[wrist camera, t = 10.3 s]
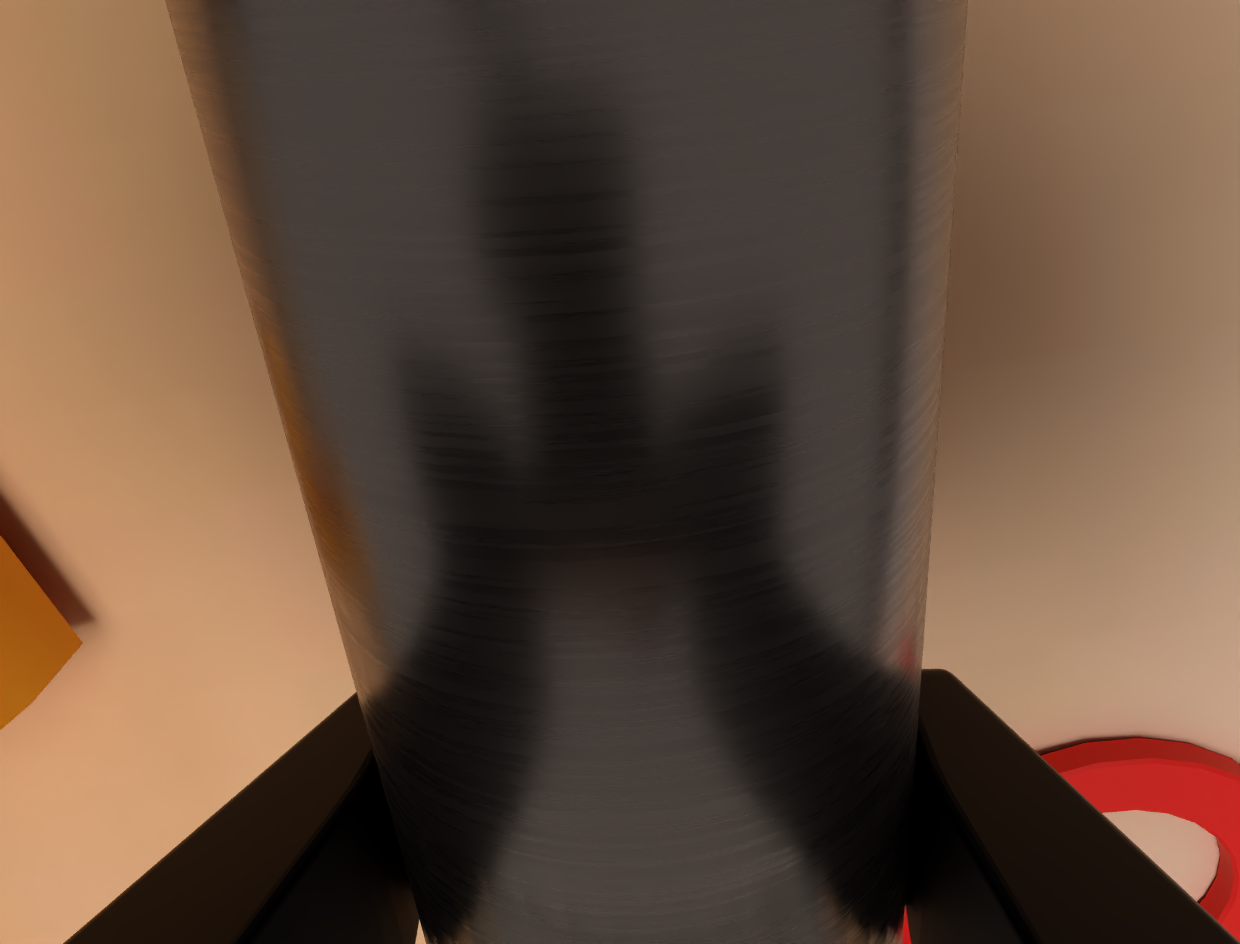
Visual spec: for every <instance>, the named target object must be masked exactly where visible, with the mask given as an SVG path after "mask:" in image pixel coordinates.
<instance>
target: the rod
mask: <svg viewBox="0 0 1240 944" xmlns="http://www.w3.org/2000/svg"><path fill="white" fill-rule="evenodd" d="M165 1H166V4H167V8H168V12H169V15H170V19H171V22H172V26H173V30H174V33H175V37H176V40H177V44H178V48H179V51H180V55H181V59H182V62H183V66H184V69H185V73H186V77H187V80H188V84H189V87H190V91H191V95H192V98H193V102H194V106H195V109H196V113H197V116H198V120H199V124H200V127H201V131H202V134H203V138H204V142H205V145H206V149H207V153H208V156H209V160H210V163H211V167H212V171H213V174H214V178H215V181H216V185H217V189H218V192H219V196H220V200H221V203H222V207H223V210H224V214H225V218H226V221H227V225H228V228H229V232H230V236H231V239H232V243H233V247H234V250H235V254H236V257H237V261H238V265H239V268H240V272H241V275H242V279H243V283H244V286H245V290H246V294H247V297H248V301H249V304H250V308H251V312H252V315H253V319H254V322H255V326H256V330H257V333H258V337H259V341H260V344H261V348H262V351H263V355H264V359H265V362H266V366H267V369H268V373H269V377H270V380H271V384H272V388H273V391H274V395H275V398H276V402H277V406H278V409H279V413H280V416H281V420H282V424H283V427H284V431H285V435H286V438H287V442H288V445H289V449H290V453H291V456H292V460H293V463H294V467H295V471H296V474H297V478H298V482H299V485H300V489H301V492H302V496H303V500H304V503H305V507H306V510H307V514H308V518H309V521H310V525H311V529H312V532H313V536H314V539H315V543H316V547H317V550H318V554H319V557H320V561H321V565H322V568H323V572H324V576H325V579H326V583H327V586H328V590H329V594H330V597H331V601H332V604H333V608H334V612H335V615H336V619H337V623H338V626H339V630H340V633H341V637H342V641H343V644H344V648H345V652H346V655H347V659H348V662H349V666H350V670H351V673H352V677H353V680H354V684H355V688H356V691H357V695H358V699H359V702H360V706H361V709H362V713H363V717H364V720H365V724H366V727H367V731H368V735H369V738H370V742H371V746H372V749H373V753H374V756H375V760H376V764H377V767H378V771H379V774H380V778H381V782H382V785H383V789H384V793H385V796H386V800H387V803H388V807H389V811H390V814H391V818H392V821H393V825H394V829H395V832H396V836H397V840H398V843H399V847H400V850H401V854H402V858H403V861H404V865H405V868H406V872H407V876H408V879H409V883H410V887H411V890H412V894H413V897H414V901H415V905H416V908H417V912H418V915H419V919H420V923H421V926H422V930H423V934H424V937H425V941H426V944H903V929H904V915H905V900H906V886H907V872H908V857H909V843H910V828H911V814H912V799H913V785H914V771H915V756H916V742H917V727H918V713H919V698H920V684H921V669H922V655H923V641H924V626H925V612H926V597H927V583H928V568H929V554H930V539H931V525H932V511H933V496H934V482H935V467H936V453H937V438H938V424H939V409H940V395H941V381H942V366H943V352H944V337H945V323H946V308H947V294H948V280H949V265H950V251H951V236H952V222H953V207H954V193H955V178H956V164H957V150H958V135H959V121H960V106H961V92H962V77H963V63H964V48H965V34H966V20H967V5H968V0H165Z"/></svg>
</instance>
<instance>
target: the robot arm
mask: <svg viewBox="0 0 1240 944" xmlns="http://www.w3.org/2000/svg"><path fill="white" fill-rule="evenodd" d="M905 906H906V912H907V919H908V926H909V933H910V939H911V944H1240V942H1239V941H1238V940H1237V939H1236V938H1235V937H1234V936H1233V935H1232V934H1231V933H1230V932H1228V931H1227V930H1226V929H1225V928H1224V927H1223V926H1222V925H1221V924H1220V923H1219V922H1218V921H1217V920H1216V919H1215V918H1213V917H1212V916H1211V915H1210V914H1209V913H1208V912H1207V911H1206V910H1205V909H1204V908H1203V907H1202V906H1201V905H1200V904H1198V903H1197V902H1196V901H1195V900H1194V899H1193V898H1192V897H1191V896H1190V895H1189V894H1188V893H1187V892H1186V891H1185V890H1184V889H1182V888H1181V887H1180V886H1179V885H1178V884H1177V883H1176V882H1175V881H1174V880H1173V879H1172V878H1171V877H1170V876H1169V875H1167V874H1166V873H1165V872H1164V871H1163V870H1162V869H1161V868H1160V867H1159V866H1158V865H1157V864H1156V863H1155V862H1154V861H1152V860H1151V859H1150V858H1149V857H1148V856H1147V855H1146V854H1145V853H1144V852H1143V851H1142V850H1141V849H1140V848H1139V847H1137V846H1136V845H1135V844H1134V843H1133V842H1132V841H1131V840H1130V839H1129V838H1128V837H1127V836H1126V835H1125V834H1124V833H1122V832H1121V831H1120V830H1119V829H1118V828H1117V827H1116V826H1115V825H1114V824H1113V823H1112V822H1111V821H1110V820H1109V819H1107V818H1106V817H1105V816H1104V815H1103V814H1102V813H1101V812H1100V811H1099V810H1098V809H1097V808H1096V807H1095V806H1094V805H1092V804H1091V803H1090V802H1089V801H1088V800H1087V799H1086V798H1085V797H1084V796H1083V795H1082V794H1081V793H1080V792H1079V791H1077V790H1076V789H1075V788H1074V787H1073V786H1072V785H1071V784H1070V783H1069V782H1068V781H1067V780H1066V779H1065V778H1064V777H1062V776H1061V775H1060V774H1059V773H1058V772H1057V771H1056V770H1055V769H1054V768H1053V767H1052V766H1051V765H1050V764H1049V763H1047V762H1046V761H1045V760H1044V759H1043V758H1042V757H1041V756H1040V755H1039V754H1038V753H1037V752H1036V751H1035V750H1034V749H1033V748H1031V747H1030V746H1029V745H1028V744H1027V743H1026V742H1025V741H1024V740H1023V739H1022V738H1021V737H1020V736H1019V735H1018V734H1016V733H1015V732H1014V731H1013V730H1012V729H1011V728H1010V727H1009V726H1008V725H1007V724H1006V723H1005V722H1004V721H1003V720H1001V719H1000V718H999V717H998V716H997V715H996V714H995V713H994V712H993V711H992V710H991V709H990V708H989V707H988V706H986V705H985V704H984V703H983V702H982V701H981V700H980V699H979V698H978V697H977V696H976V695H975V694H974V693H973V692H971V691H970V690H969V689H968V688H967V687H966V686H965V685H964V684H963V683H962V682H961V681H960V680H959V679H958V678H956V677H955V676H954V675H953V674H952V673H950V672H948V671H946V670H943V669H921V684H920V698H919V713H918V727H917V742H916V756H915V771H914V785H913V799H912V814H911V828H910V843H909V857H908V872H907V886H906V900H905ZM418 924H419V915H418V912H417V908H416V905H415V901H414V897H413V894H412V890H411V887H410V883H409V879H408V876H407V872H406V868H405V865H404V861H403V858H402V854H401V850H400V847H399V843H398V840H397V836H396V832H395V829H394V825H393V821H392V818H391V814H390V811H389V807H388V803H387V800H386V796H385V793H384V789H383V785H382V782H381V778H380V774H379V771H378V767H377V764H376V760H375V756H374V753H373V749H372V746H371V742H370V738H369V735H368V731H367V727H366V724H365V720H364V717H363V713H362V709H361V706H360V702H359V699H358V695H357V692H356V693H354V694H353V695H352V696H351V697H350V698H349V699H347V700H346V701H345V702H344V703H343V704H342V705H340V706H339V707H338V708H337V709H336V710H335V711H333V712H332V713H331V714H330V715H329V716H328V717H327V718H325V719H324V720H323V721H322V722H321V723H320V724H318V725H317V726H316V727H315V728H314V729H313V730H311V731H310V732H309V733H308V734H307V735H306V736H304V737H303V738H302V739H301V740H300V741H299V742H297V743H296V744H295V745H294V746H293V747H292V748H290V749H289V750H288V751H287V752H286V753H285V754H283V755H282V756H281V757H280V758H279V759H278V760H276V761H275V762H274V763H273V764H272V765H271V766H269V767H268V768H267V769H266V770H265V771H264V772H262V773H261V774H260V775H259V776H258V777H257V778H255V779H254V780H253V781H252V782H251V783H250V784H249V785H247V786H246V787H245V788H244V789H243V790H242V791H240V792H239V793H238V794H237V795H236V796H235V797H233V798H232V799H231V800H230V801H229V802H228V803H226V804H225V805H224V806H223V807H222V808H221V809H219V810H218V811H217V812H216V813H215V814H214V815H212V816H211V817H210V818H209V819H208V820H207V821H205V822H204V823H203V824H202V825H201V826H200V827H198V828H197V829H196V830H195V831H194V832H193V833H191V834H190V835H189V836H188V837H187V838H186V839H184V840H183V841H182V842H181V843H180V844H179V845H178V846H176V847H175V848H174V849H173V850H172V851H171V852H169V853H168V854H167V855H166V856H165V857H164V858H162V859H161V860H160V861H159V862H158V863H157V864H155V865H154V866H153V867H152V868H151V869H150V870H148V871H147V872H146V873H145V874H144V875H143V876H141V877H140V878H139V879H138V880H137V881H136V882H134V883H133V884H132V885H131V886H130V887H129V888H127V889H126V890H125V891H124V892H123V893H122V894H120V895H119V896H118V897H117V898H116V899H115V900H113V901H112V902H111V903H110V904H109V905H108V906H107V907H105V908H104V909H103V910H102V911H101V912H100V913H98V914H97V915H96V916H95V917H94V918H93V919H91V920H90V921H89V922H88V923H87V924H86V925H84V926H83V927H82V928H81V929H80V930H79V931H77V932H76V933H75V934H74V935H73V936H72V937H70V938H69V939H68V940H67V941H66V942H65V943H63V944H415V941H416V936H417V930H418Z"/></svg>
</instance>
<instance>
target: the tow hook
mask: <svg viewBox="0 0 1240 944" xmlns="http://www.w3.org/2000/svg"><path fill="white" fill-rule="evenodd" d="M1041 757H1042V758H1043V759H1044V760H1045V761H1046V762H1047V763H1049V764H1050V765H1051V766H1052V767H1053V768H1054V769H1055V770H1056V771H1057V772H1058V773H1059V774H1060V775H1061V776H1062V777H1064V778H1065V779H1066V780H1067V781H1068V782H1069V783H1070V784H1071V785H1072V786H1073V787H1074V788H1075V789H1076V790H1077V791H1079V792H1080V793H1081V794H1082V795H1083V796H1084V797H1085V798H1086V799H1087V800H1088V801H1089V802H1090V803H1091V804H1092V805H1094V806H1095V807H1096V808H1097V809H1098V810H1099V811H1100V812H1101V813H1105V812H1117V811H1129V810H1141V811H1150V812H1160V813H1168V814H1171V815H1174V816H1177V817H1180V818H1183V819H1186V820H1189V821H1192V822H1195V823H1196V824H1198V825H1199V826H1201V827H1202V828H1204V829H1205V830H1207V831H1208V832H1209V833H1211V834H1212V835H1214V836H1215V837H1217V842H1218V846H1219V851H1220V861H1219V867H1218V872H1217V877H1216V879H1215V881H1214V882H1213V884H1212V886H1211V888H1210V890H1209V891H1208V893H1207V895H1206V897H1205V898H1204V899H1203V900H1202V901H1201V902H1200V903H1199V904H1200V905H1201V906H1202V907H1203V908H1204V909H1205V910H1206V911H1207V912H1208V913H1209V914H1210V915H1211V916H1212V917H1213V918H1215V919H1216V920H1217V921H1218V922H1219V923H1220V924H1221V925H1222V926H1223V927H1224V928H1225V929H1226V930H1227V931H1228V932H1230V933H1231V934H1232V935H1233V936H1234V937H1235V938H1236V939H1237V940H1238V941H1239V942H1240V764H1239V763H1237V762H1236V761H1234V760H1233V759H1232V758H1229V757H1226V756H1223V755H1220V754H1218V753H1215V752H1212V751H1209V750H1206V749H1203V748H1201V747H1198V746H1195V745H1192V744H1189V743H1181V742H1172V741H1163V740H1154V739H1145V738H1132V739H1121V740H1110V741H1099V742H1088V743H1083V744H1080V745H1076V746H1073V747H1069V748H1066V749H1062V750H1058V751H1055V752H1051V753H1048V754H1044V755H1041ZM903 944H911V939H910V933H909V926H908V919H907V912H906V906H905V915H904V929H903Z"/></svg>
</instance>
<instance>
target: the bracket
mask: <svg viewBox="0 0 1240 944" xmlns="http://www.w3.org/2000/svg"><path fill="white" fill-rule="evenodd" d="M82 644H83V643H82V641H81V640H80V639H79V637H78V636H77V635H76V633H75V632H74V631H73V630H72V628H71V627H70V626H69V624H68V623H67V622H66V620H65V619H64V618H63V616H62V615H61V614H60V613H59V611H58V610H57V609H56V607H55V606H54V605H53V603H52V602H51V601H50V599H49V598H48V597H47V596H46V594H45V593H44V592H43V590H42V589H41V588H40V586H39V585H38V584H37V582H36V581H35V580H34V579H33V577H32V576H31V575H30V573H29V572H28V571H27V569H26V568H25V567H24V565H23V564H22V563H21V562H20V560H19V559H18V558H17V556H16V555H15V554H14V552H13V551H12V550H11V548H10V547H9V546H8V545H7V543H6V542H5V541H4V539H3V538H2V537H1V535H0V730H1V729H2V728H3V727H5V726H6V725H7V724H8V723H9V722H10V721H11V720H13V719H14V718H15V717H16V716H17V715H18V714H20V713H21V712H22V711H23V710H24V709H25V708H26V707H28V706H29V705H30V704H31V703H32V702H33V701H34V700H35V699H36V697H37V696H38V695H39V694H40V693H41V692H42V690H43V689H44V688H45V687H46V686H47V685H48V683H49V682H50V681H51V680H52V679H53V678H54V676H55V675H56V674H57V673H58V672H59V671H60V669H61V668H62V667H63V666H64V665H65V664H66V662H67V661H68V660H69V659H70V658H71V657H72V655H73V654H74V653H75V652H76V651H77V650H78V648H79V647H80V646H81V645H82Z"/></svg>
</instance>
